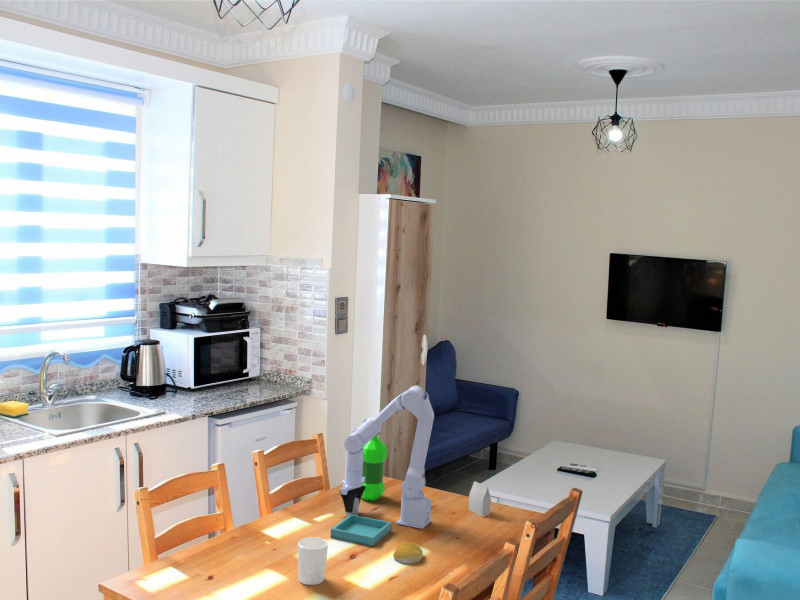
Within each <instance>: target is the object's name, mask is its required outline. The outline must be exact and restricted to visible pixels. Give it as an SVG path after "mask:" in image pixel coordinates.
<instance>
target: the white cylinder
mask: <svg viewBox="0 0 800 600" xmlns="http://www.w3.org/2000/svg"><path fill="white" fill-rule="evenodd" d="M359 509H360V504H359V498H356V497H355V500H354V505H353V510H352V513H349V512H345V511H344V514H345V516H347V517H348V516H349V515H351V514H352V515H357V516H359Z"/></svg>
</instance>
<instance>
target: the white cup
mask: <svg viewBox="0 0 800 600" xmlns="http://www.w3.org/2000/svg"><path fill="white" fill-rule="evenodd" d="M328 546H329V543H328V541H327V540H326V539H324V538H320V537H311V536H310V537H304V538H301V539H300V540H299V541H298V542H297V568H298V569H297V570H298V581H299V582H300V583H301V584H303V585H306V586H307V585H308V586H315V585H319V584H321V583H322V582H324V581H325V572H326V566H327V556H328Z"/></svg>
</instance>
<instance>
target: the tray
mask: <svg viewBox="0 0 800 600" xmlns="http://www.w3.org/2000/svg"><path fill="white" fill-rule="evenodd" d="M391 531H392V522H391V521H386V520H380V519H375V518H370V517H366V516H361V515H352V514H351V515H349V516H347V517H345V518H344V519H342V520H341V521H339V522H338V523H337V524H335V525H334V526H333V527H331V528H330V538H331V539H337V540H341V541H345V542H348V543H349V542H350V543H354V544H359V545H362V546H368V547H374V546H375V545H376V544H377V543H379V542H380V541H381V540H382V539H384V537H386V535H388V534H389V533H390V532H391Z"/></svg>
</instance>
